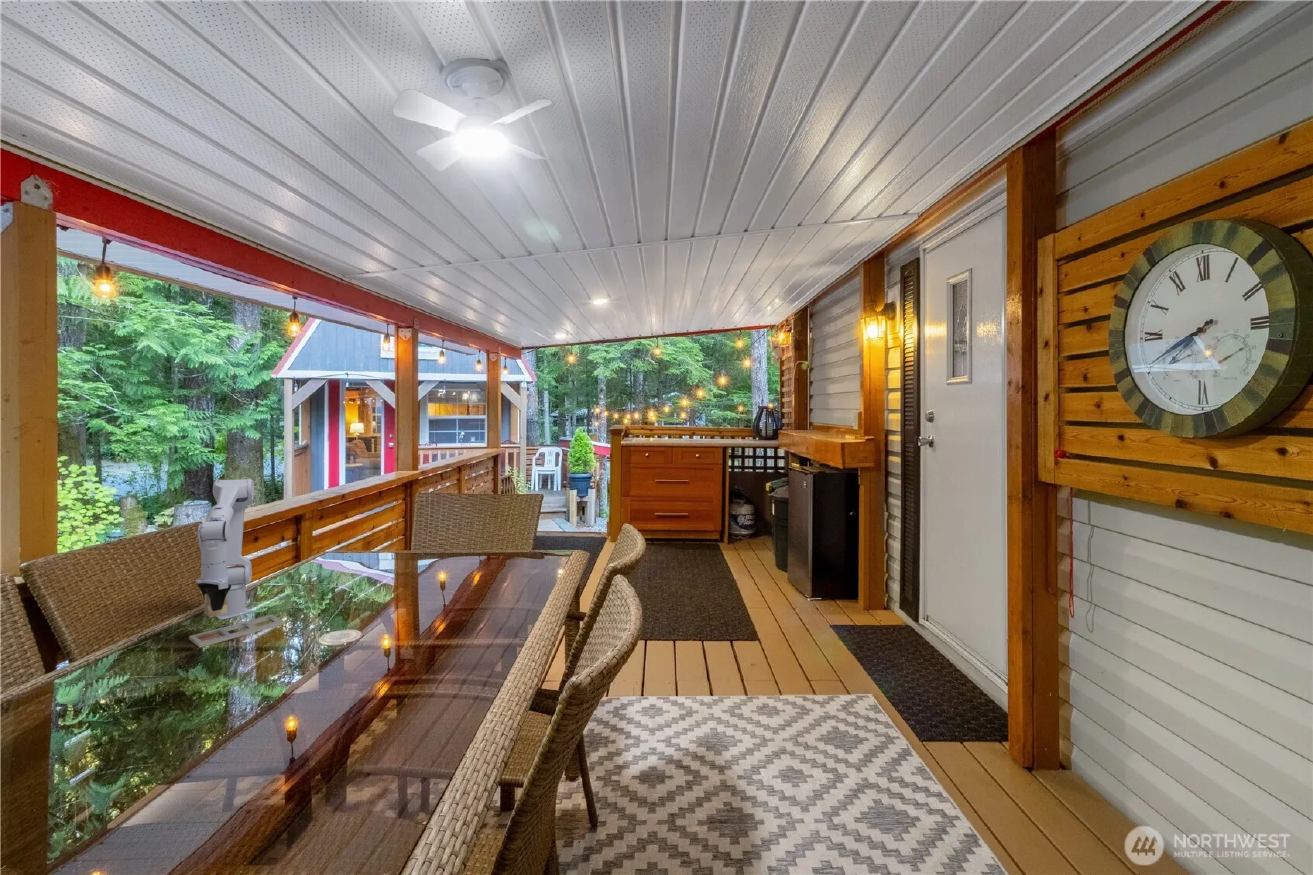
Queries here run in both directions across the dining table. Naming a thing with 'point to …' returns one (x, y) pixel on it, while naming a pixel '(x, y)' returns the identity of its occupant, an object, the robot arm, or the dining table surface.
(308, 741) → the dining table surface
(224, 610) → the block
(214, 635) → the white rectangular slotted frame
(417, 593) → the dining table surface
